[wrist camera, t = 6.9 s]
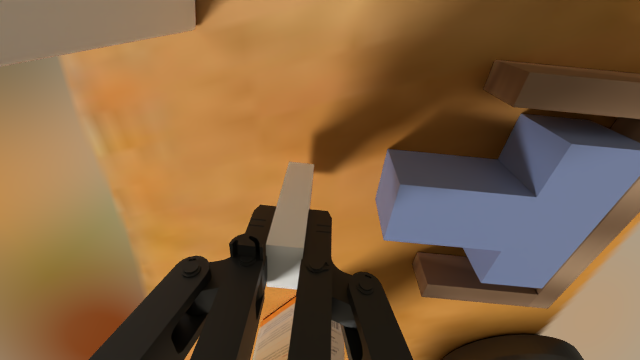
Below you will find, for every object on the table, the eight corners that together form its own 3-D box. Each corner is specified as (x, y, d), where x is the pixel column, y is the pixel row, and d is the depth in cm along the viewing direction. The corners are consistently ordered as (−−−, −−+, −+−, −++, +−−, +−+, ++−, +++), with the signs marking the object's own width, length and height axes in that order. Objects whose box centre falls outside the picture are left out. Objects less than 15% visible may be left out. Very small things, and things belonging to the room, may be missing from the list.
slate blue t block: (367, 229, 21) (374, 272, 18) (399, 101, 15) (416, 129, 12) (509, 243, 21) (541, 288, 18) (590, 120, 15) (660, 152, 12)
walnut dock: (524, 274, 23) (547, 308, 20) (412, 264, 23) (421, 296, 20) (677, 77, 14) (752, 93, 11) (495, 59, 14) (530, 72, 11)
